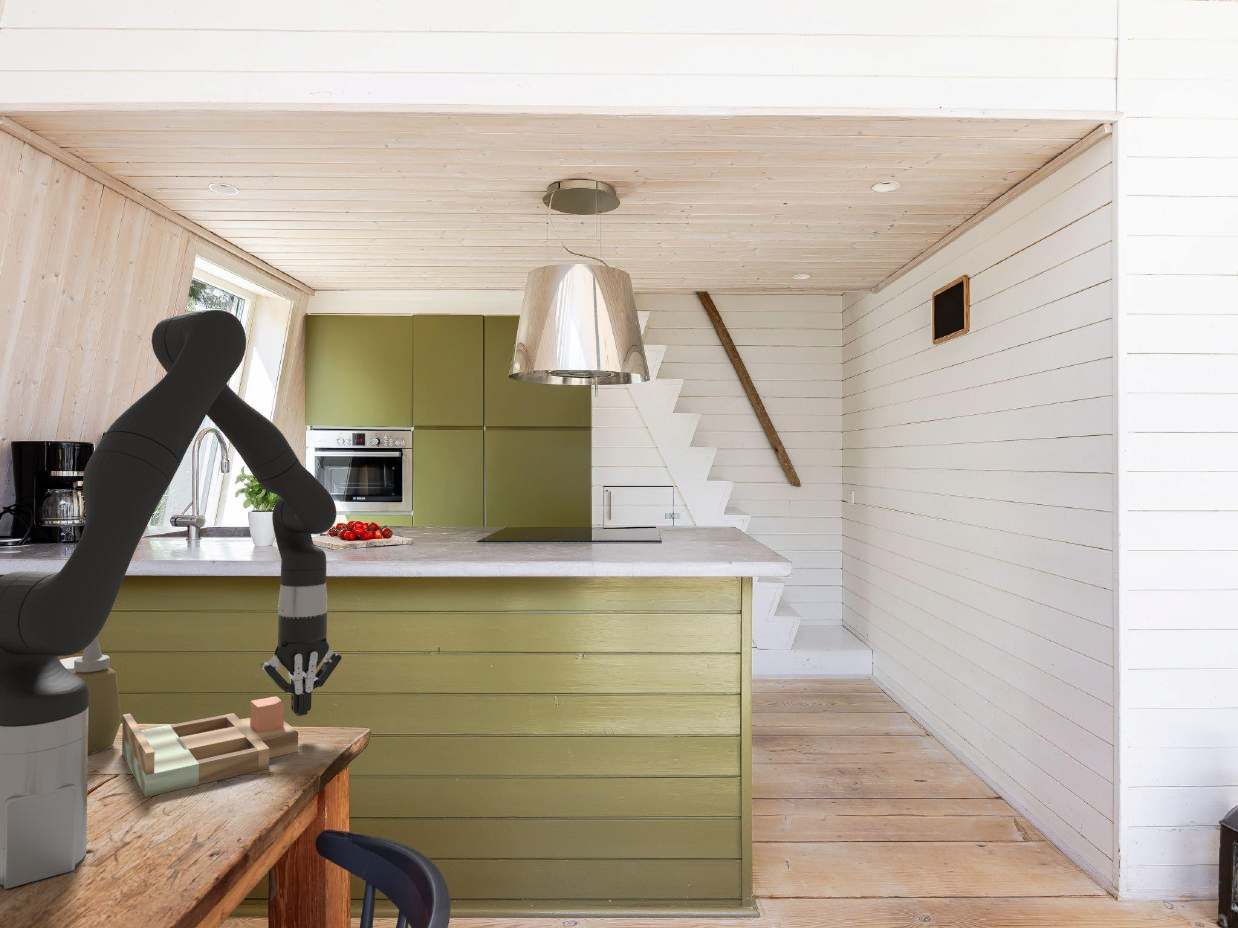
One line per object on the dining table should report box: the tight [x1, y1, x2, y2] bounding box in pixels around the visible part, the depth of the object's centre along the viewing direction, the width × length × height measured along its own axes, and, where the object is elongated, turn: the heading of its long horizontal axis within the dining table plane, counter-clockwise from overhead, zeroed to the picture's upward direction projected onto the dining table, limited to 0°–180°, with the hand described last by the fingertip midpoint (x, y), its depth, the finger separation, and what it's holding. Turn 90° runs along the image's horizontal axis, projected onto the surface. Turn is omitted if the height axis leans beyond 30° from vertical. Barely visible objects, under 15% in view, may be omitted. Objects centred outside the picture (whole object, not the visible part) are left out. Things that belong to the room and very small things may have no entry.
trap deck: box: [121, 712, 299, 798], centre depth 119 cm, size 20×22×6 cm
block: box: [249, 695, 285, 732], centre depth 124 cm, size 4×4×4 cm
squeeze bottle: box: [73, 636, 123, 754], centre depth 121 cm, size 8×8×18 cm
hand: (301, 714), depth 127 cm, fingers closed
